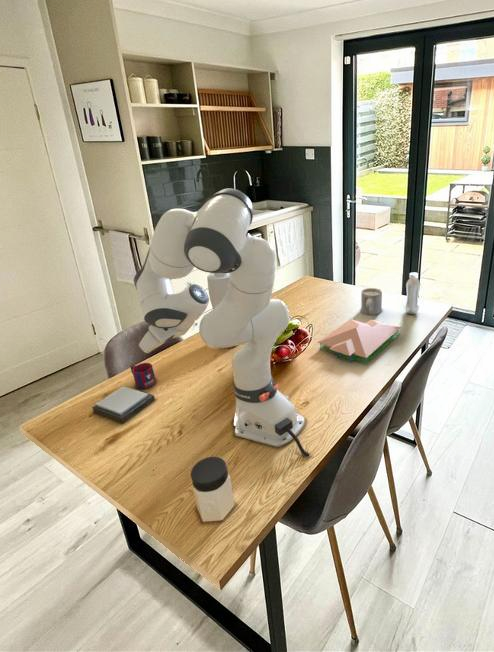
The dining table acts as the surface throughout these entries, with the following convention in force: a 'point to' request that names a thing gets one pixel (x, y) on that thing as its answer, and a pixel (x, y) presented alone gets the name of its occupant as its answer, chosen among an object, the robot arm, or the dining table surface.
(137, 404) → the scale
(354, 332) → the house
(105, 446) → the dining table surface
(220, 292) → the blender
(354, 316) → the dining table surface
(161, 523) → the dining table surface
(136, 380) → the cup
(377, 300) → the coffee mug
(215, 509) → the jar
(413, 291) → the plastic bottle
